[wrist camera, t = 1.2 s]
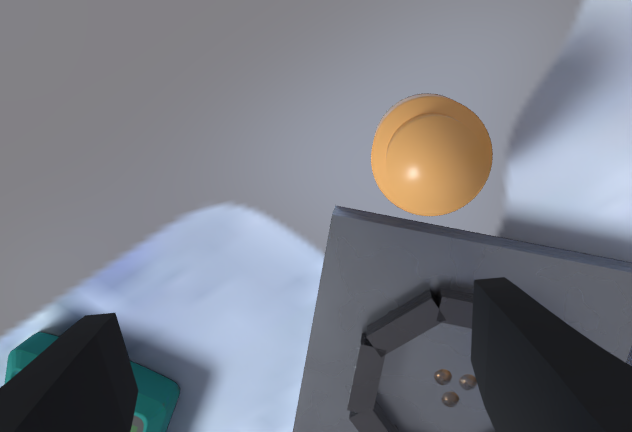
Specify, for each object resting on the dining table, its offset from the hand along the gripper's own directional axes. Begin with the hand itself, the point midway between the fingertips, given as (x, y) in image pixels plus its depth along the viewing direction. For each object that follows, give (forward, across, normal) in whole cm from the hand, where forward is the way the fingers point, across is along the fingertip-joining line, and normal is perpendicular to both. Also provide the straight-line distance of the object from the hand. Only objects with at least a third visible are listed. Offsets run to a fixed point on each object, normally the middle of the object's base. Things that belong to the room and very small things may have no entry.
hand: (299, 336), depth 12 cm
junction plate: (+10, -6, +10) cm, 15 cm away
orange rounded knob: (+12, -5, +1) cm, 13 cm away
